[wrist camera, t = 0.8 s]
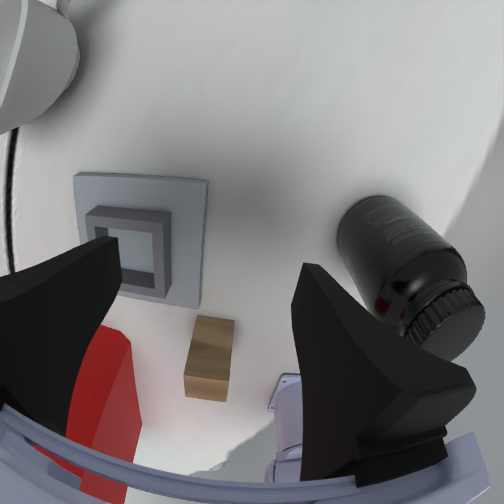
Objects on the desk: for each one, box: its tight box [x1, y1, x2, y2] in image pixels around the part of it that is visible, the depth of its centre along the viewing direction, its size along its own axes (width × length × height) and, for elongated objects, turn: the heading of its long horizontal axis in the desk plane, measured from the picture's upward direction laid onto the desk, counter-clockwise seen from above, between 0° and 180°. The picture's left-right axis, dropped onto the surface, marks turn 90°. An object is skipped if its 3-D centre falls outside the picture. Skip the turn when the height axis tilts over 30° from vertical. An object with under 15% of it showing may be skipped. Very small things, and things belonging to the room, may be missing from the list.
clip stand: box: [73, 173, 208, 309], centre depth 20 cm, size 11×11×3 cm
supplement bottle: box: [338, 197, 485, 362], centre depth 15 cm, size 7×7×12 cm
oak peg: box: [184, 315, 234, 402], centre depth 23 cm, size 4×4×7 cm
